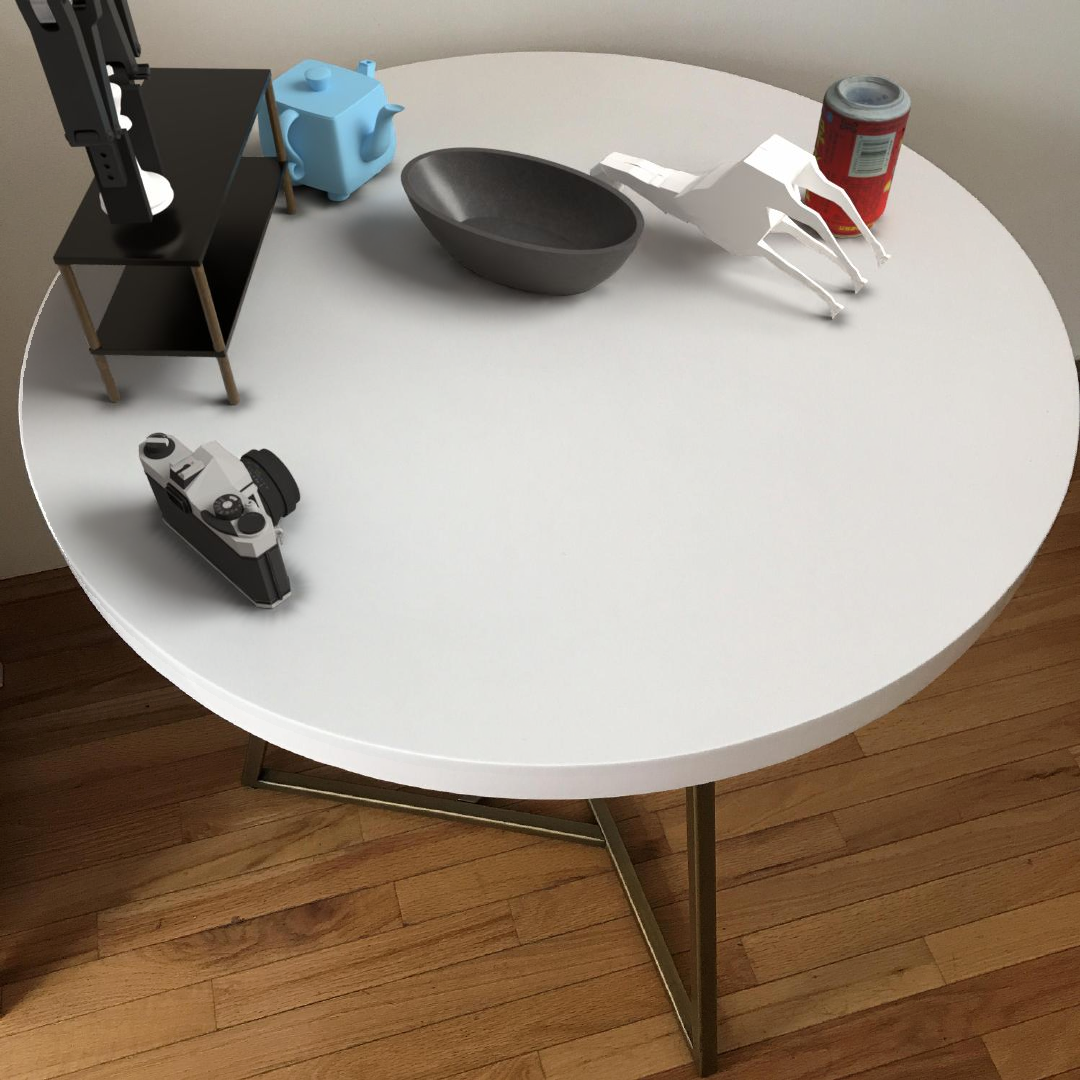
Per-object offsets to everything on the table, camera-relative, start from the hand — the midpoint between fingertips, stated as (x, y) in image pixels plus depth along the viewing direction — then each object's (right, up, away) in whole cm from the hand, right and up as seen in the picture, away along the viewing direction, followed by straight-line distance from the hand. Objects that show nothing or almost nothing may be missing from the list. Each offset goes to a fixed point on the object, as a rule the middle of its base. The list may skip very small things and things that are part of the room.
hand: (138, 196), depth 80 cm
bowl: (+26, 0, +20) cm, 33 cm away
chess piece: (0, 0, 0) cm, 0 cm away
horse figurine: (+44, +1, +20) cm, 48 cm away
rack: (0, -3, +17) cm, 17 cm away
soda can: (+55, +5, +23) cm, 60 cm away
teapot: (+9, +11, +29) cm, 32 cm away
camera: (+8, -24, 0) cm, 25 cm away
